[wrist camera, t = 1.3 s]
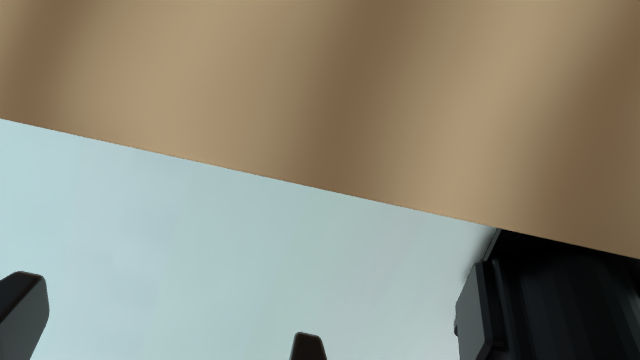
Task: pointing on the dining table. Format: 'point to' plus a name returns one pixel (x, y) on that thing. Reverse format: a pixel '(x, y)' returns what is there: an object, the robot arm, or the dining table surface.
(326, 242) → the dining table surface
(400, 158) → the oak plank
